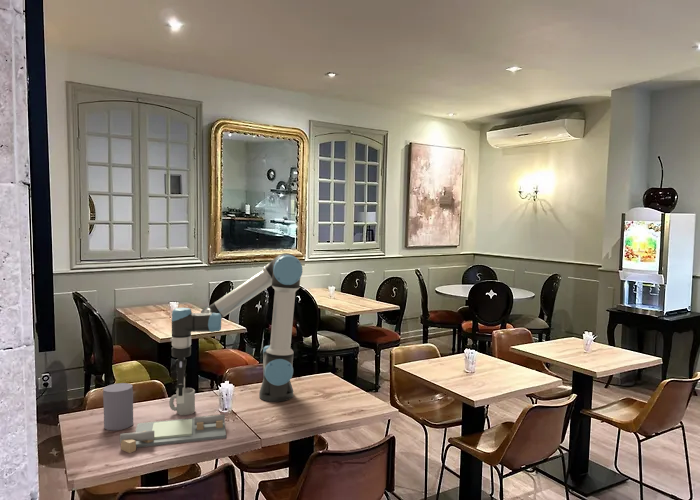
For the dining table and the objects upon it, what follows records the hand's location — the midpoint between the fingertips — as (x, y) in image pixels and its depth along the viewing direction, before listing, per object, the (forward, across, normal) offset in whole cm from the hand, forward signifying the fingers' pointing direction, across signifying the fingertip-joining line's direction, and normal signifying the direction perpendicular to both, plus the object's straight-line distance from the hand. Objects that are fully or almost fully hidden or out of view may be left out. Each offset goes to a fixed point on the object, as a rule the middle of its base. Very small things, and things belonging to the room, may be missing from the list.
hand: (180, 397), depth 218 cm
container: (+7, +8, -22) cm, 25 cm away
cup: (+7, 0, +1) cm, 7 cm away
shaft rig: (+6, +22, -1) cm, 23 cm away
